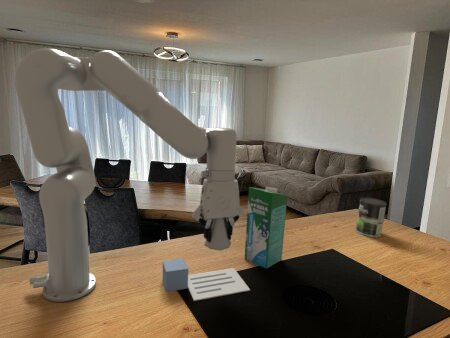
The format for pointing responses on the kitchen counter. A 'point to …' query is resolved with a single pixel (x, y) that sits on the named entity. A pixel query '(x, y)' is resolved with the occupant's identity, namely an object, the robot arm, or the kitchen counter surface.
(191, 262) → the kitchen counter surface
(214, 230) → the flask
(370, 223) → the coffee can
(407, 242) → the kitchen counter surface
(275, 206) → the milk carton
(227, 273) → the letter
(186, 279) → the blue cube
